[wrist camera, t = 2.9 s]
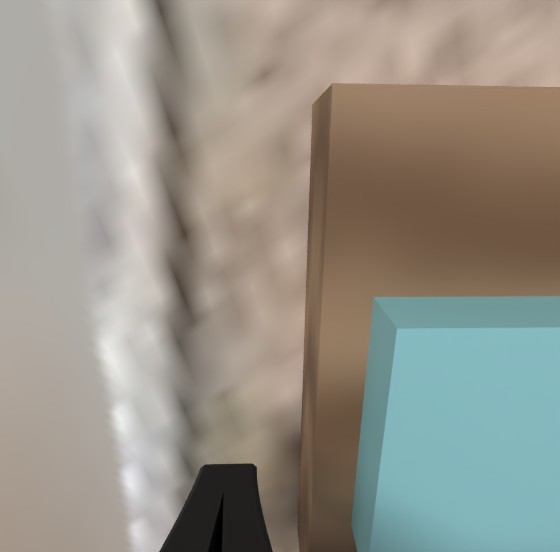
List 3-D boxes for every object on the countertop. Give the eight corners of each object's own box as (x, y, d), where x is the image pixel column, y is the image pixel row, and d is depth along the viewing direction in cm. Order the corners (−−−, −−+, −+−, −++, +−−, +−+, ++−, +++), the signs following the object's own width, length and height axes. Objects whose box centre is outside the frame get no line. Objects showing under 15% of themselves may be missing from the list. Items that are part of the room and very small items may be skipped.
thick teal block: (510, 520, 14) (550, 579, 12) (351, 524, 13) (364, 585, 12) (575, 296, 11) (641, 326, 9) (373, 296, 11) (397, 328, 9)
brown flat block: (486, 523, 19) (540, 614, 15) (297, 528, 19) (305, 622, 15) (595, 108, 13) (731, 90, 9) (312, 104, 13) (332, 83, 9)
